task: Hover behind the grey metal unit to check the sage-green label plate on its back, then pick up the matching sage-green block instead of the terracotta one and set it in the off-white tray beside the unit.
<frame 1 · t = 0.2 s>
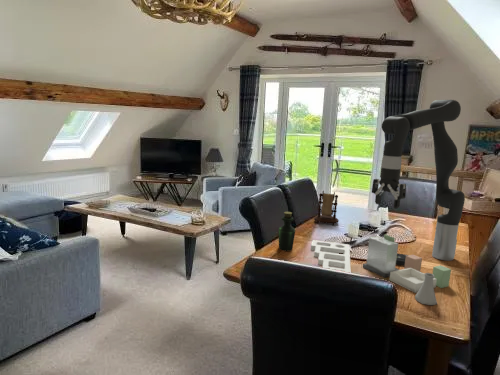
hand: (386, 206, 154), 28 cm above the table, tool pointing down, fingers open, 8 cm apart
terracotta block: (411, 272, 160), on the table
flask: (425, 301, 134), on the table
sage block: (439, 284, 148), on the table
holder: (328, 263, 167), on the table
scroll: (326, 223, 233), on the table
disk drive: (393, 262, 173), on the table
potion bottle: (285, 249, 181), on the table
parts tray: (412, 283, 148), on the table
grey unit: (381, 270, 160), on the table
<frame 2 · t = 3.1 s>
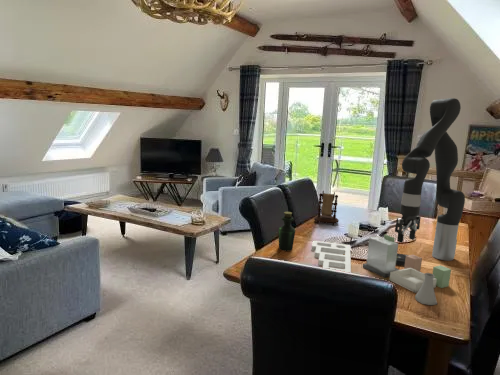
hand: (405, 240, 162), 13 cm above the table, tool pointing down, fingers open, 8 cm apart
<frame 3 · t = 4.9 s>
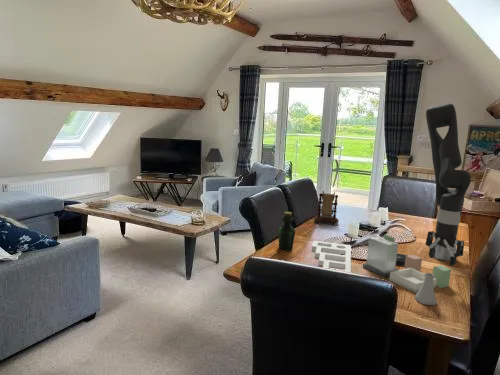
hand: (441, 261, 147), 10 cm above the table, tool pointing down, fingers open, 8 cm apart
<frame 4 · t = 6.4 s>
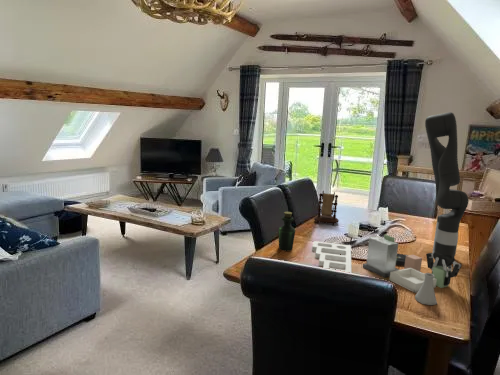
hand: (439, 282, 148), 1 cm above the table, tool pointing down, fingers closed on sage block, 4 cm apart
sage block: (439, 284, 148), on the table, touching gripper
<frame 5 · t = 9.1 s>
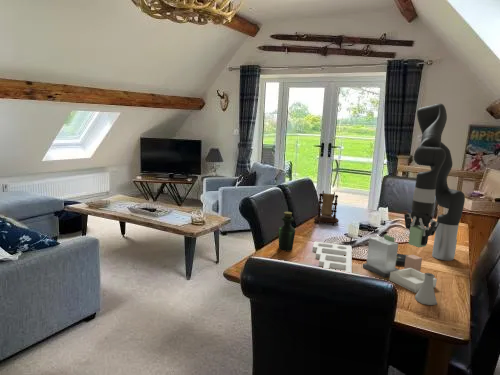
hand: (417, 242, 145), 17 cm above the table, tool pointing down, fingers closed on sage block, 4 cm apart
sage block: (417, 245, 145), point 16 cm above the table, touching gripper
when the fingers open (4 cm above the table, at t = 11.8 s): sage block drops 2 cm, resting on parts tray.
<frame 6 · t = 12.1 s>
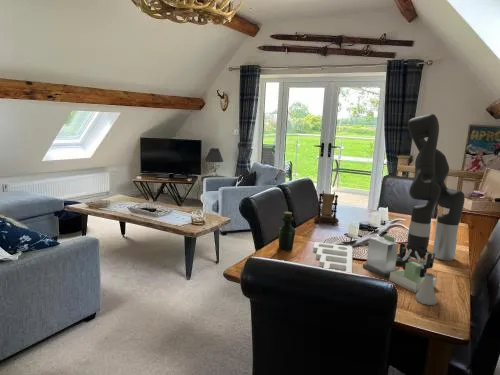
hand: (413, 273, 147), 4 cm above the table, tool pointing down, fingers open, 7 cm apart
sage block: (412, 281, 148), point 1 cm above the table, touching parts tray
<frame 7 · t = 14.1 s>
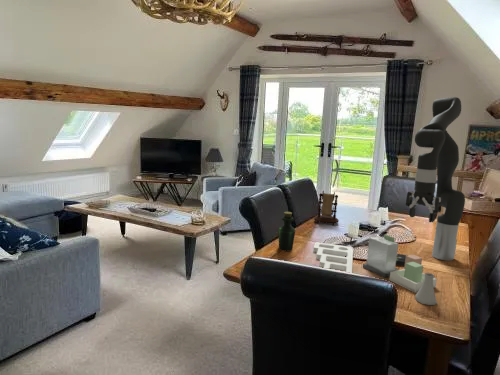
hand: (421, 219, 152), 24 cm above the table, tool pointing down, fingers open, 8 cm apart
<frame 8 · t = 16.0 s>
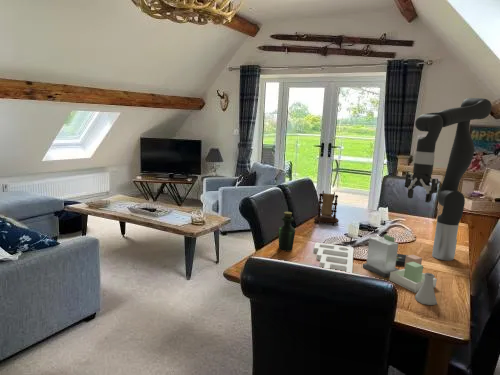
hand: (418, 200, 161), 30 cm above the table, tool pointing down, fingers open, 8 cm apart
at the end: sage block inside the target area on the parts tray (0.1 cm from its centre), point 1.0 cm above the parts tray's base; sage block tilted 0°; terracotta block moved 0.1 cm from its start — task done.
